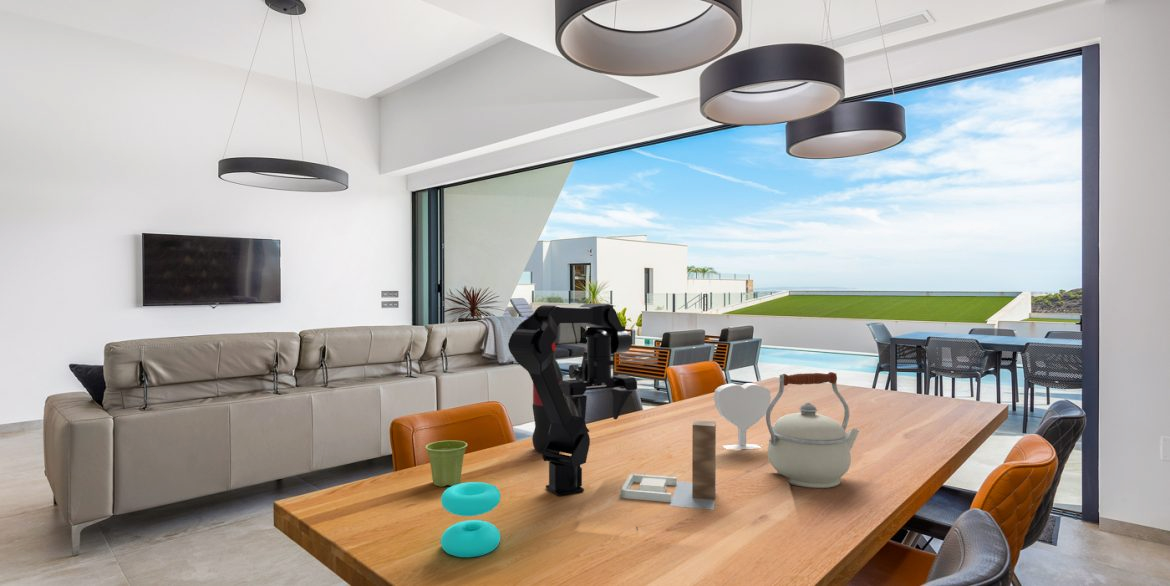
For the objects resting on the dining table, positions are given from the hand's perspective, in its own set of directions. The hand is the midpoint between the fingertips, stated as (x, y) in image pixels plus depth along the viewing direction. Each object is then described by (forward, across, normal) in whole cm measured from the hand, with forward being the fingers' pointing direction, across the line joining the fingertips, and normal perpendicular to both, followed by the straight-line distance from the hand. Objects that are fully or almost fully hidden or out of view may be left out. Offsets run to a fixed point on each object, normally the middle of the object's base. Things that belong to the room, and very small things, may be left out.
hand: (599, 421), depth 142 cm
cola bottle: (+13, 0, -27) cm, 30 cm away
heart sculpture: (+13, -49, -2) cm, 51 cm away
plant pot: (+13, +33, -13) cm, 38 cm away
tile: (+13, -2, +19) cm, 23 cm away
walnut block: (+12, -9, +26) cm, 30 cm away
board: (+13, -8, +25) cm, 29 cm away
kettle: (+13, -43, +27) cm, 52 cm away
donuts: (+13, +40, +23) cm, 48 cm away
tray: (+13, -1, +18) cm, 22 cm away
